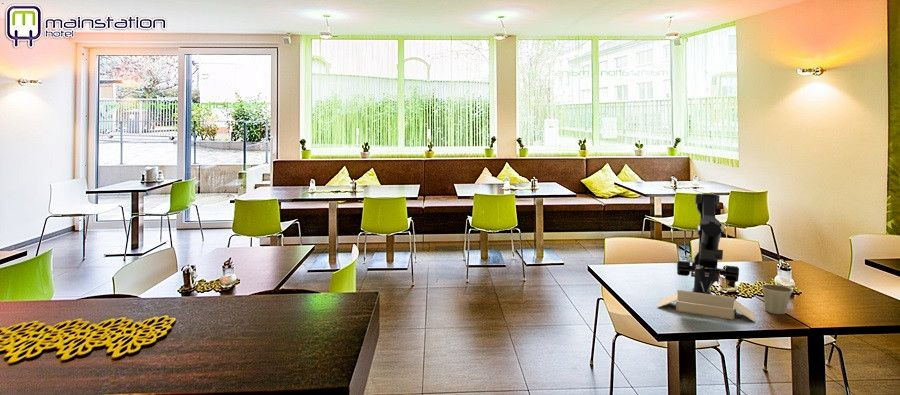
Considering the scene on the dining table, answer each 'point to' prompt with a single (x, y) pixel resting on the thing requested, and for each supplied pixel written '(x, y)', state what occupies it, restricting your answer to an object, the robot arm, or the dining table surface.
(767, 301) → the flower pot
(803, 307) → the dining table surface
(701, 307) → the carton
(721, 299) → the flap
